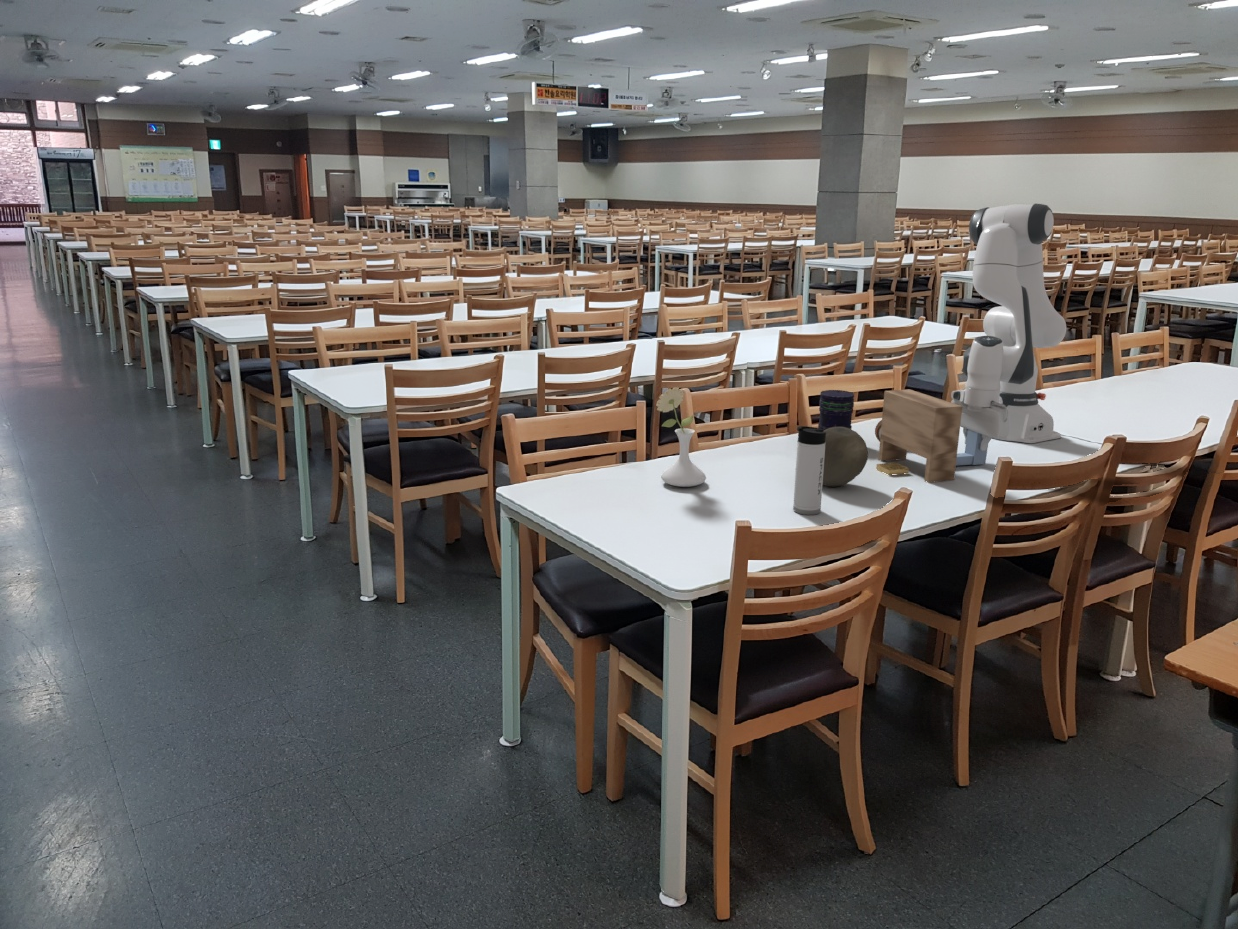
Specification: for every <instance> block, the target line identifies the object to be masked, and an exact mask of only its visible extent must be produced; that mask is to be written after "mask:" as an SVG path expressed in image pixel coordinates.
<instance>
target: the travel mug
mask: <svg viewBox="0 0 1238 929" xmlns="http://www.w3.org/2000/svg"><path fill="white" fill-rule="evenodd" d="M796 431H797V432H798V434H797V435H798V436H797V445H796V461H795V474H794V475H795V476H794V492H793V503H792V504H793V505H792V506H793V507H792V510H793V511H794V512H795V513H797V514H799V515H804V516H814V515H818V514H820V512H821V511H822V510H821V508H822V499H823V498H822V495H823V471H824V457H825V443H826V442H825V438H826V432H824V431H823V430H822V429H819V428H818V427H814V426H807V425H806V426H797V427H796Z"/></svg>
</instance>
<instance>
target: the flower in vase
mask: <svg viewBox="0 0 1238 929" xmlns="http://www.w3.org/2000/svg"><path fill="white" fill-rule="evenodd" d="M684 396H685V395H684V390H683V389H680V387H676V386H675V387H673V388H669V387H668V389H667V390H665V391H664V392H663V394H662V395H661V394H660V395H659V398H658V399H657V401H656V405H655V406H656V407H657V408H656V410H657V411H659V412H662V413H669V412H670V411H674V414H675V419H674V418H669V419H667V420H666V421H664V422H663V423H662V424H661V427H664V428H665V427H666V428H672V427H673V426H675V425H676V423H677V424H678V425H679V427H680V428H676V429H675V430H674V432H675V434H676V435H677V438H678V442H679V455H678V459H677V460H676V461H675V462H674V463H673V464H671V465H670V466H668V467H667V468H666V469H665V470H664V471H662V473H661V475H660V478H661V480H662V481H663V483H666V484H668V485H671V486H675V487H683V488H686V487H688V488H689V487H695V486H699V485H701V484H703V483H704V482H705V481H706V480H707V477H706V474H705V472H704V471H702V469H700V468H699V467H698V466H697V465H696V464H695V463H693V461H691V458H690V454H689V452H690V443H691V439H692V437H693V435H694V433H695V432H696V430H695V429H693V428H692V429H691V428H683V427H686V426H687V427H688V426H690V425H691V424H692V422H693V420H694V415H690V416H689V417H686V418H684V419H682V421H681V423H680V421H679V419H678V415H677V411H676V409H677V408H678V407H679V406H680V405H681V403H682V402H683V401H684Z"/></svg>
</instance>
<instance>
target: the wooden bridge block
mask: <svg viewBox="0 0 1238 929" xmlns="http://www.w3.org/2000/svg"><path fill="white" fill-rule="evenodd" d="M961 415H962V406H960V405H957V404H954V403H951V401H947V400H945V399H941V398H938V397H934V396H931V395H929V394H925V393H922V392H920V391H915V390H913V389H895V390H884V394H883V405H882V415H881V416H882V417H881V420H882V425H881V436H880V442H879V446H878V447H879V449H878V450H879V451H878V458H877V460H878V461H879V460H881V461H880V462H884V461H883V460H891V461H897V460H896V459H902V460H906V459H907V454H908V452H909V453H912V454H915V455H917V456H919V457H922V458H924V459H926V460H925V461H926V462H925V469H924V470H925V471H924V480H925V481H927V482H930V483H937V482H936V481H940V482H946V480H949V481H955V473H956V468H957V467H956V466H957V465H956V458H957V454H958V448H959V440H960V439H959V438H960V433H961V427H960V424H961ZM925 481H924V482H925ZM934 481H935V482H934ZM927 482H926V483H927Z"/></svg>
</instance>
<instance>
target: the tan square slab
mask: <svg viewBox="0 0 1238 929" xmlns="http://www.w3.org/2000/svg"><path fill="white" fill-rule="evenodd" d="M876 469H877V470H876ZM875 470H876V471H878V472H880V473H882V472H884V473H886V474H888V475H892V474H904V473H910V468H909V467H907V466H905V465H903V464H901V463H899V462H894V461H893V462H887V463H885V462H884V463H877V464H876V468H875ZM884 473H883V474H884ZM886 474H885V475H886ZM888 475H887V476H888Z"/></svg>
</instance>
